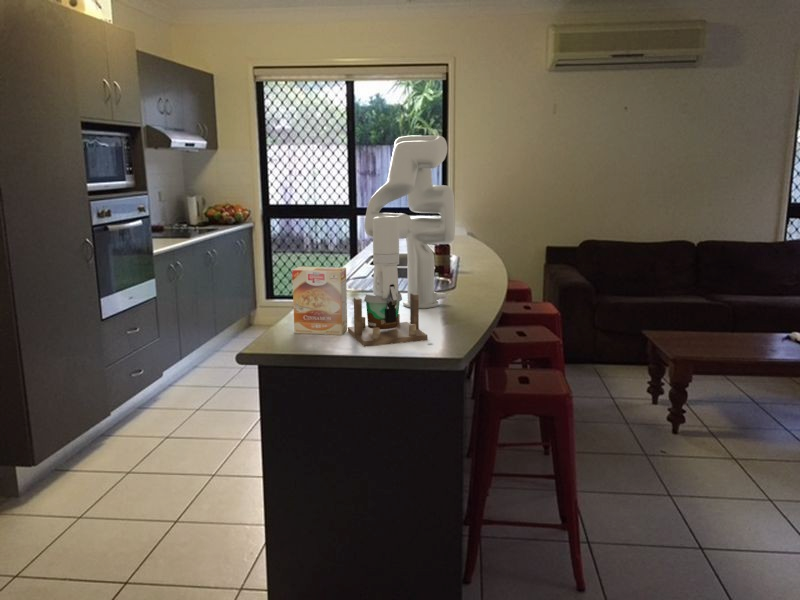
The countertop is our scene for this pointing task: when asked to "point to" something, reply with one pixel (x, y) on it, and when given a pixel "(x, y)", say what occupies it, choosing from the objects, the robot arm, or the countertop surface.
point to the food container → (380, 311)
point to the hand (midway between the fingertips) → (386, 319)
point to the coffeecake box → (320, 300)
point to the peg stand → (387, 336)
